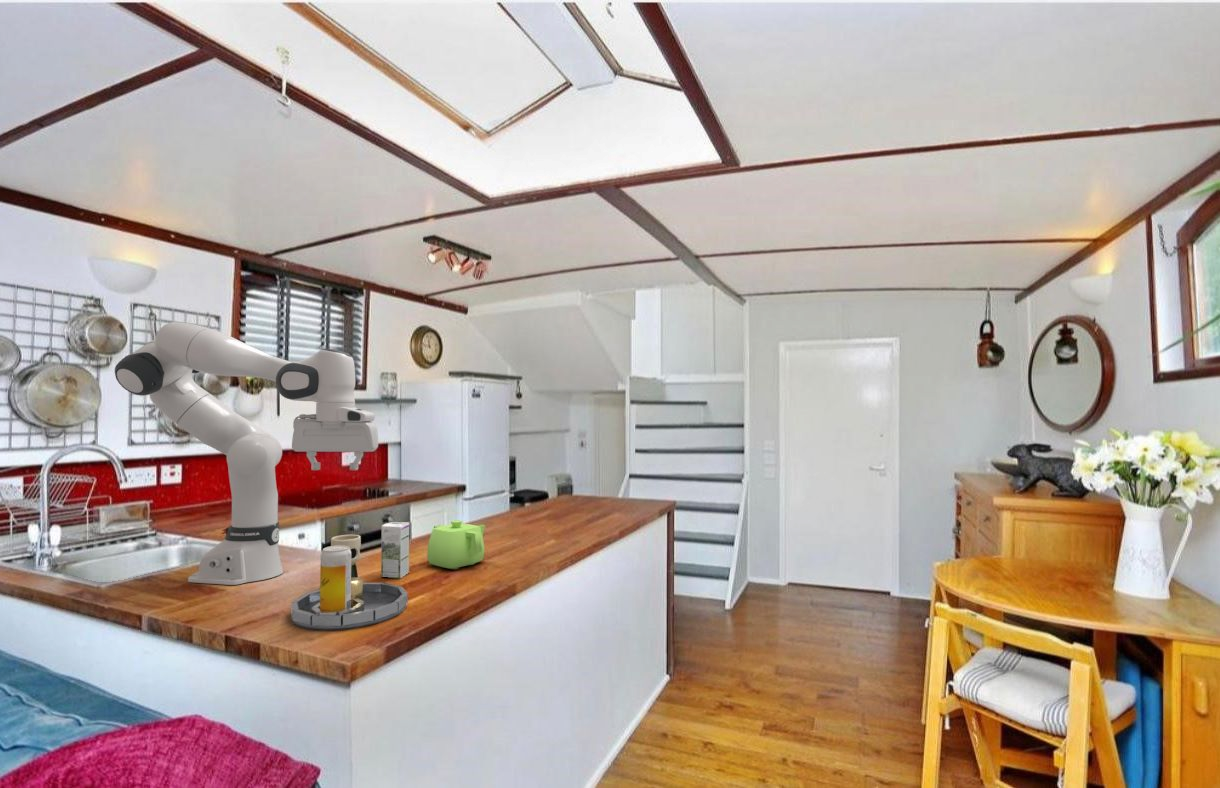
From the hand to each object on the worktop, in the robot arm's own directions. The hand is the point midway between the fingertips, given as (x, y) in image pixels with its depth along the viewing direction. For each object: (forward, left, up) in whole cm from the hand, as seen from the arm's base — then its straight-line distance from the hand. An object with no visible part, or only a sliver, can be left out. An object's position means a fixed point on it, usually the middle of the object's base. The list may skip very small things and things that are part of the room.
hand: (335, 469), depth 149 cm
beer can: (+9, -18, -30) cm, 36 cm away
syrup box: (+9, +18, -31) cm, 37 cm away
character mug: (0, +7, -31) cm, 32 cm away
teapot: (+24, +32, -31) cm, 51 cm away
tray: (+9, -11, -31) cm, 34 cm away
